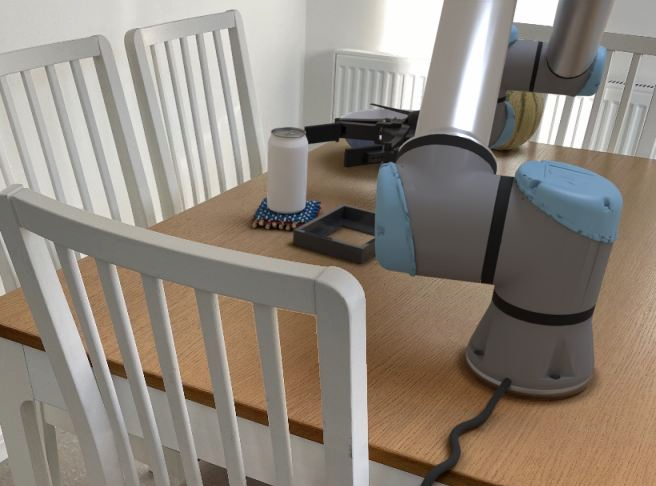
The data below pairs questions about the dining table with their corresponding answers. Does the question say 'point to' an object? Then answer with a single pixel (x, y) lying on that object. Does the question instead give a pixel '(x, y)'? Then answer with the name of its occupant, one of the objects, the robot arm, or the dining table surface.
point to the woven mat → (285, 216)
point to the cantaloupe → (523, 116)
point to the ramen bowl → (376, 114)
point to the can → (287, 170)
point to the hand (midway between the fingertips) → (324, 146)
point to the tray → (341, 216)
